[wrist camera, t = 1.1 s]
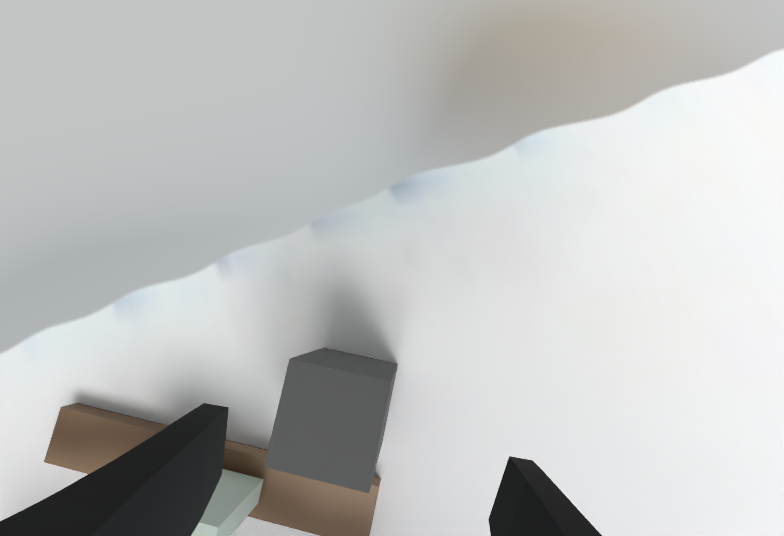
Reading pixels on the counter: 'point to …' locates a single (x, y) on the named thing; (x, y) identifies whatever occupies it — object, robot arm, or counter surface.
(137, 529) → the robot arm
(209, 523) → the pale green block
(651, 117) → the counter surface
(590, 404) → the counter surface
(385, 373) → the block
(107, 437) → the door frame
